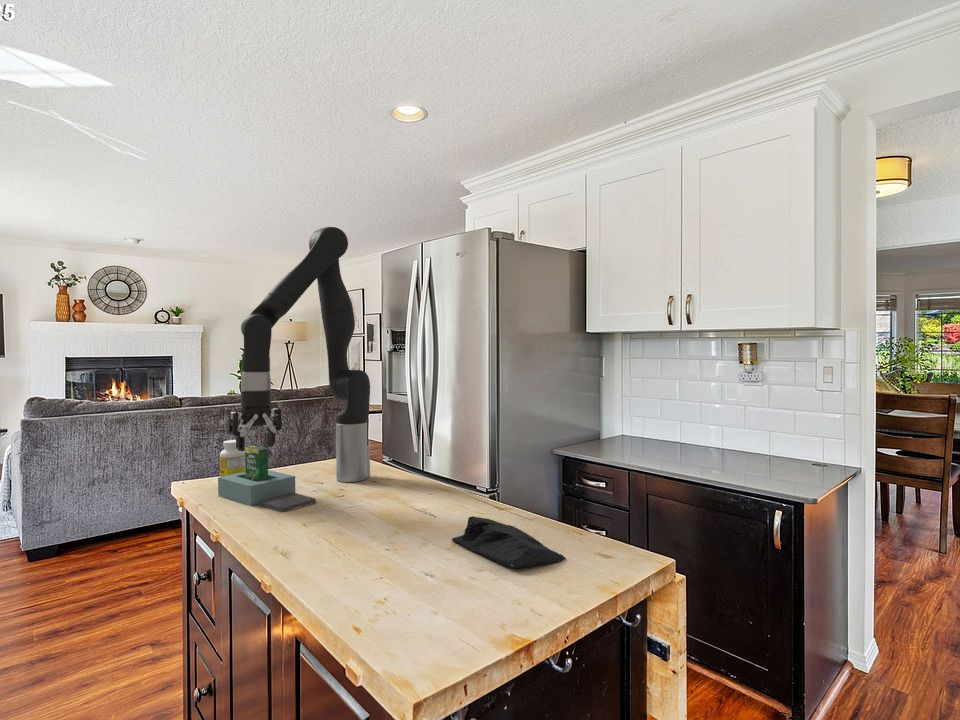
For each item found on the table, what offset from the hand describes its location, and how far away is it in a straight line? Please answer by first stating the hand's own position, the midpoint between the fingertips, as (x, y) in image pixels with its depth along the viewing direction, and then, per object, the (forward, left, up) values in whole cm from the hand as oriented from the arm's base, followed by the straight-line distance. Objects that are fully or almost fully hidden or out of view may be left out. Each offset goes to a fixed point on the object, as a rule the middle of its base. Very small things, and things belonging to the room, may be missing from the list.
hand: (256, 448), depth 145 cm
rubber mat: (0, +14, -13) cm, 19 cm away
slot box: (0, 0, -13) cm, 13 cm away
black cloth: (-8, +76, -14) cm, 78 cm away
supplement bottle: (-2, -16, -13) cm, 21 cm away
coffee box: (0, 0, -13) cm, 13 cm away
